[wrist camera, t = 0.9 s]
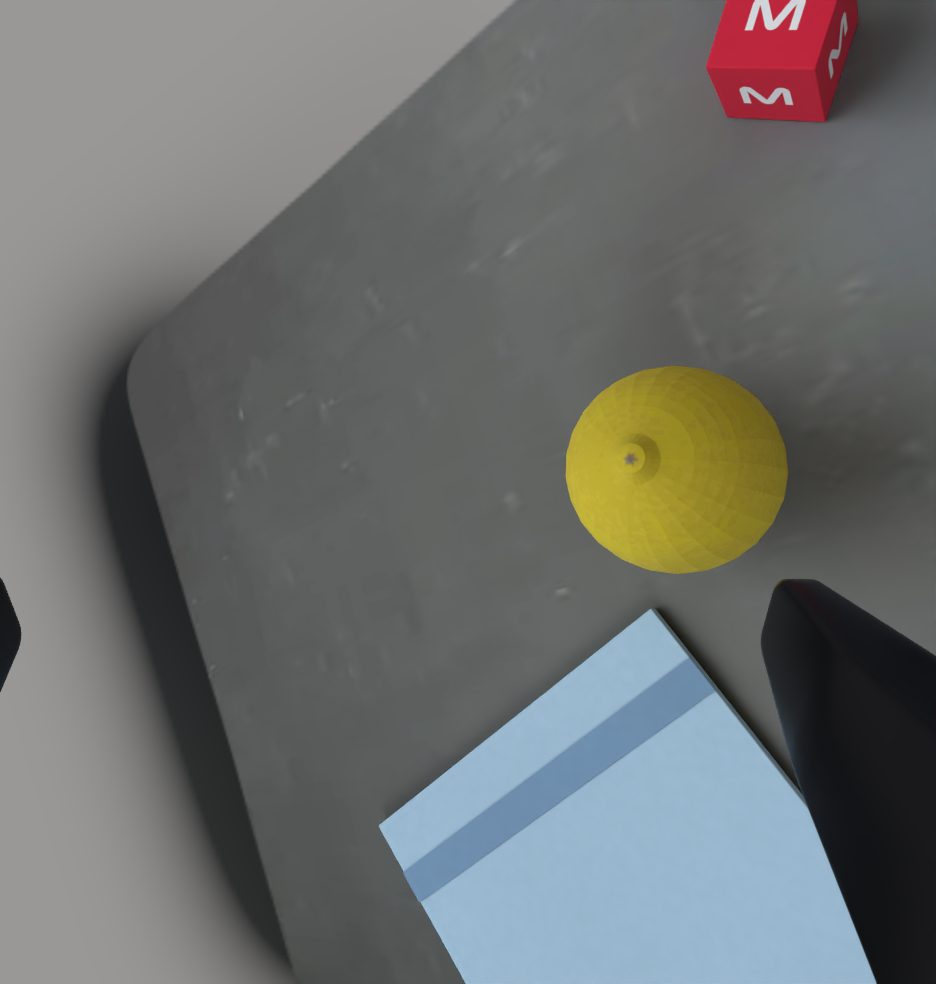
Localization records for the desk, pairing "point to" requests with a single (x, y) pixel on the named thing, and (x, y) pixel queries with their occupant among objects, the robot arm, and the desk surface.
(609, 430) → the lemon
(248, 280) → the desk surface
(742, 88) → the red letter cube
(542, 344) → the desk surface
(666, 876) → the cloth
